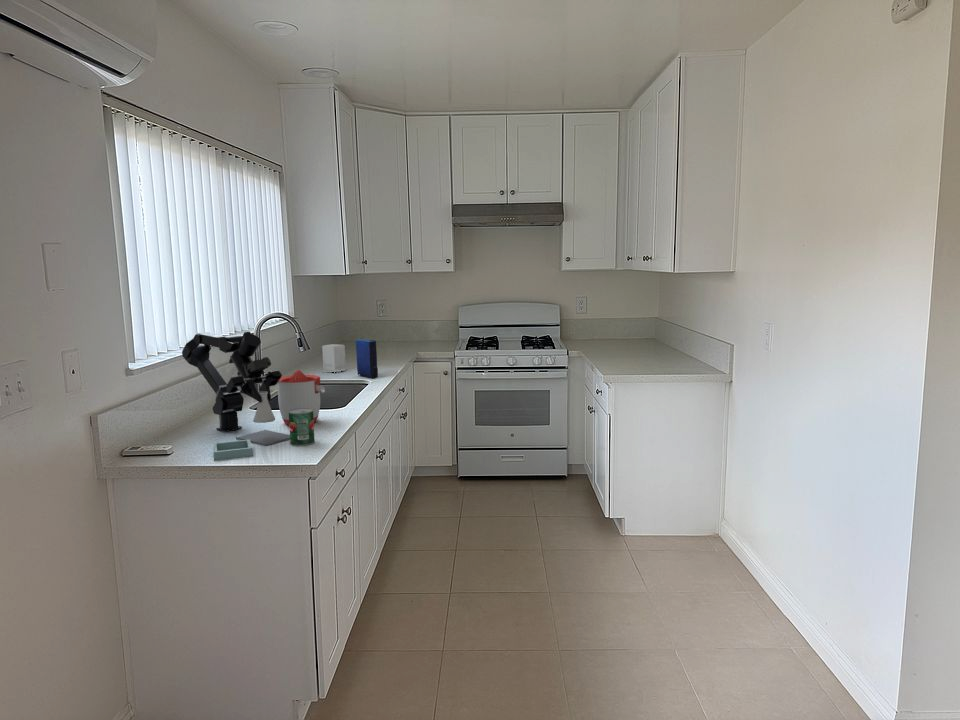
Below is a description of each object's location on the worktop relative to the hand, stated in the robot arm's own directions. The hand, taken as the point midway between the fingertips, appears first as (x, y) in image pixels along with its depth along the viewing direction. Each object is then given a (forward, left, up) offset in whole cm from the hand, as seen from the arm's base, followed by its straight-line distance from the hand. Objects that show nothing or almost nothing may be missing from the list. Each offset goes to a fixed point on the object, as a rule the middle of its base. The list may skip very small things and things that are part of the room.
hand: (265, 400), depth 216 cm
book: (-58, +108, -13) cm, 124 cm away
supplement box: (-86, +111, -13) cm, 141 cm away
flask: (-1, 0, -7) cm, 7 cm away
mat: (-1, 0, -13) cm, 13 cm away
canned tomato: (+14, +3, -13) cm, 19 cm away
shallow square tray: (+5, -17, -13) cm, 22 cm away
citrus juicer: (-8, +22, -13) cm, 27 cm away
